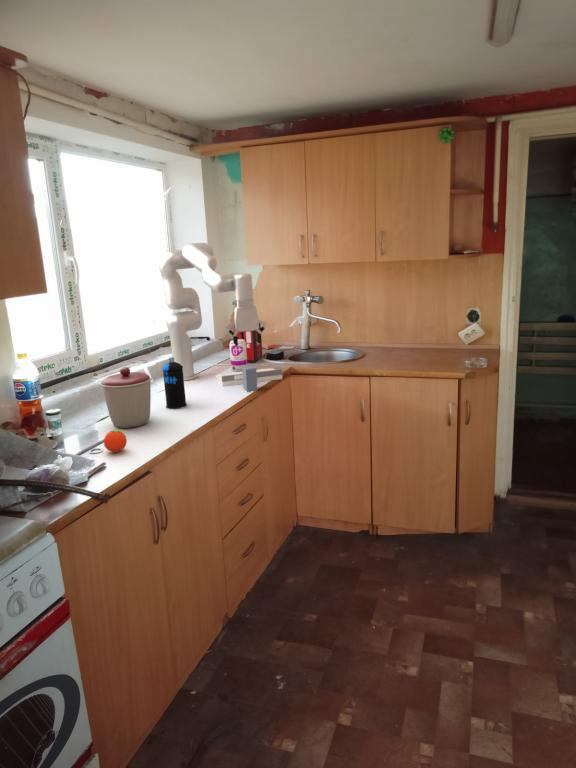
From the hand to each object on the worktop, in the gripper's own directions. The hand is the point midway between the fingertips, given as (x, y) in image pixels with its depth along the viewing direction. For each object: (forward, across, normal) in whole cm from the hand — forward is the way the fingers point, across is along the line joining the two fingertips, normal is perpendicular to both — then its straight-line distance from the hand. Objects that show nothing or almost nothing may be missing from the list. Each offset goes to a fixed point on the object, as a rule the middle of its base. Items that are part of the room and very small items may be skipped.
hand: (247, 344), depth 241 cm
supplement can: (+20, +4, +41) cm, 46 cm away
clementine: (+20, -56, -55) cm, 81 cm away
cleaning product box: (+20, +15, +62) cm, 67 cm away
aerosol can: (+20, -33, -11) cm, 40 cm away
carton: (+20, 0, 0) cm, 20 cm away
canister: (+20, -51, -27) cm, 61 cm away
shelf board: (+20, +4, +20) cm, 29 cm away
